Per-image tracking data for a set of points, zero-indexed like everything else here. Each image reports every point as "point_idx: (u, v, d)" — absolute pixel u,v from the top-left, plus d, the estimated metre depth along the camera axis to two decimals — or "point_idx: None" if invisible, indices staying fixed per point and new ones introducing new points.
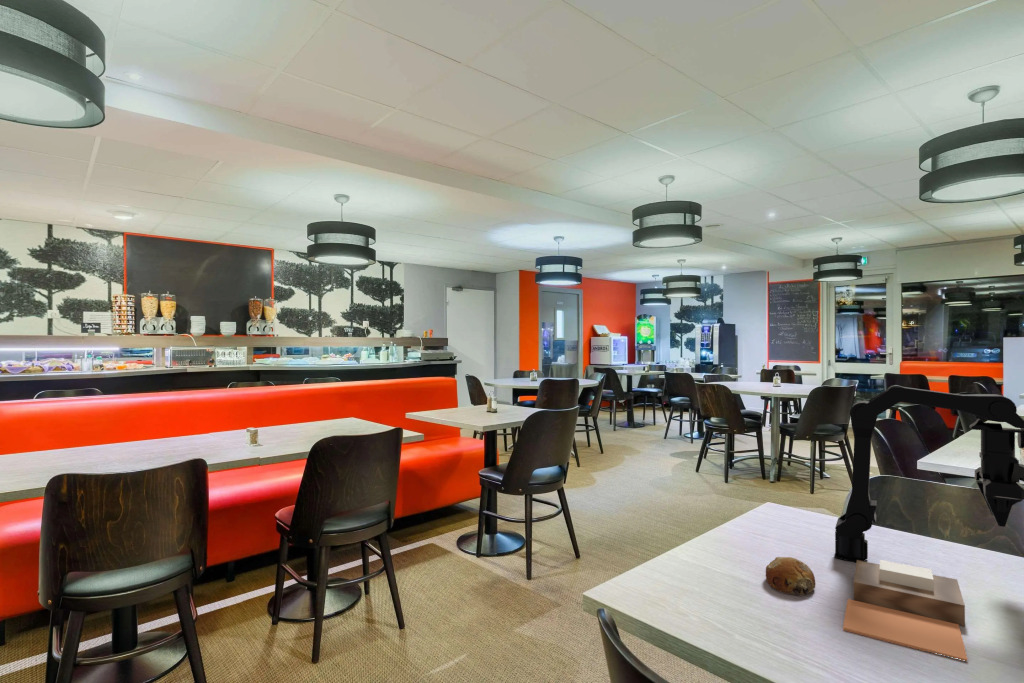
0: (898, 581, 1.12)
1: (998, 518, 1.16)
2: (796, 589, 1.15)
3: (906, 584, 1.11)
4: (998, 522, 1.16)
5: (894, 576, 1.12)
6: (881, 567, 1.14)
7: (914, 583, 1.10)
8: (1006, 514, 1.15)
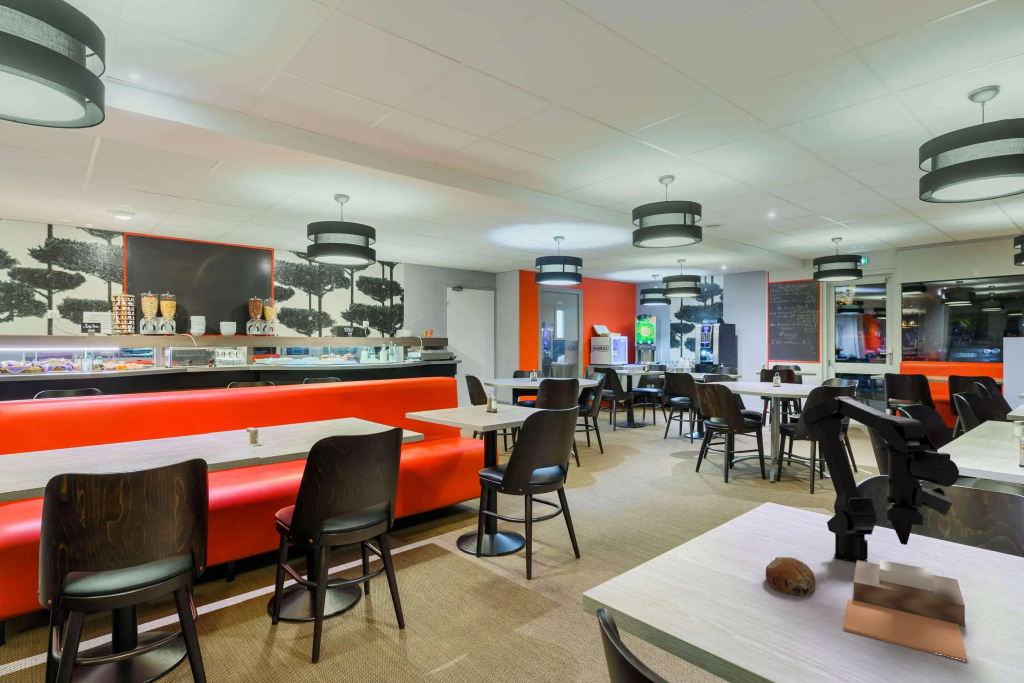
0: (898, 581, 1.12)
1: (900, 536, 1.21)
2: (796, 589, 1.15)
3: (906, 584, 1.11)
4: (900, 540, 1.21)
5: (894, 576, 1.12)
6: (881, 567, 1.14)
7: (914, 583, 1.10)
8: (907, 532, 1.20)
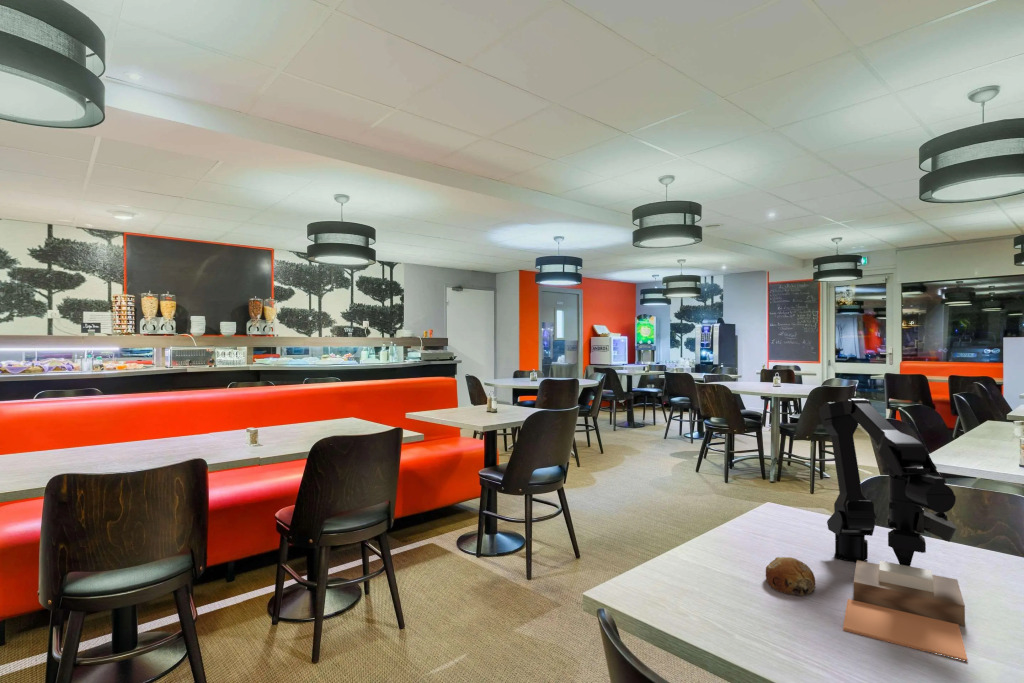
0: (898, 582, 1.11)
1: (902, 563, 1.16)
2: (796, 589, 1.15)
3: (906, 585, 1.11)
4: None
5: (894, 577, 1.12)
6: (881, 568, 1.14)
7: (914, 584, 1.10)
8: (909, 559, 1.15)
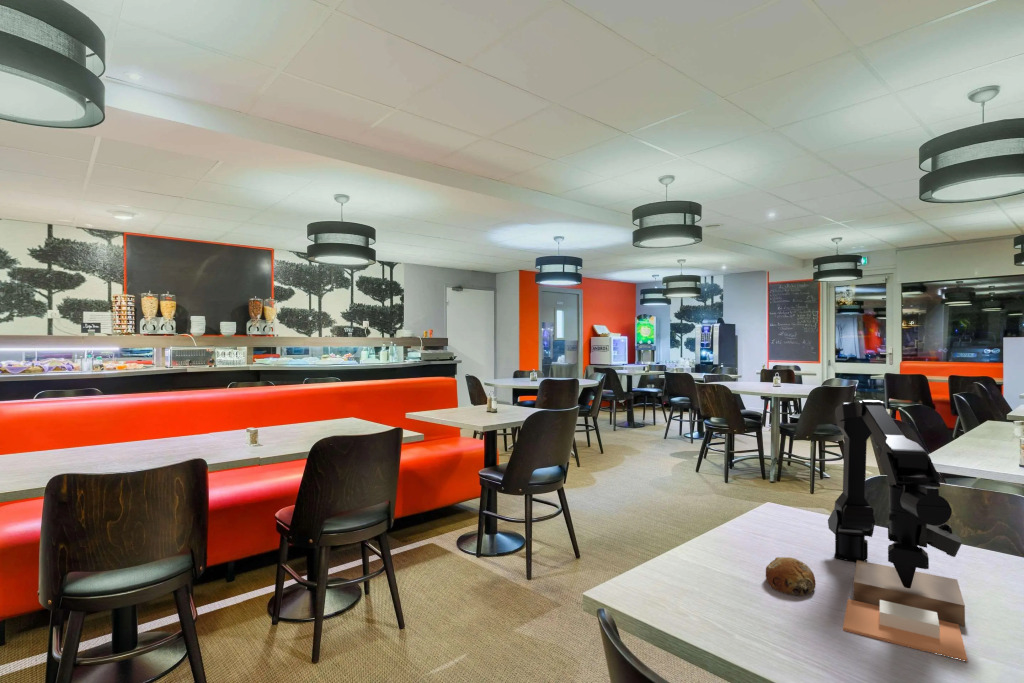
0: None
1: (903, 579, 1.08)
2: (796, 589, 1.15)
3: None
4: (903, 583, 1.08)
5: None
6: None
7: None
8: (911, 575, 1.07)
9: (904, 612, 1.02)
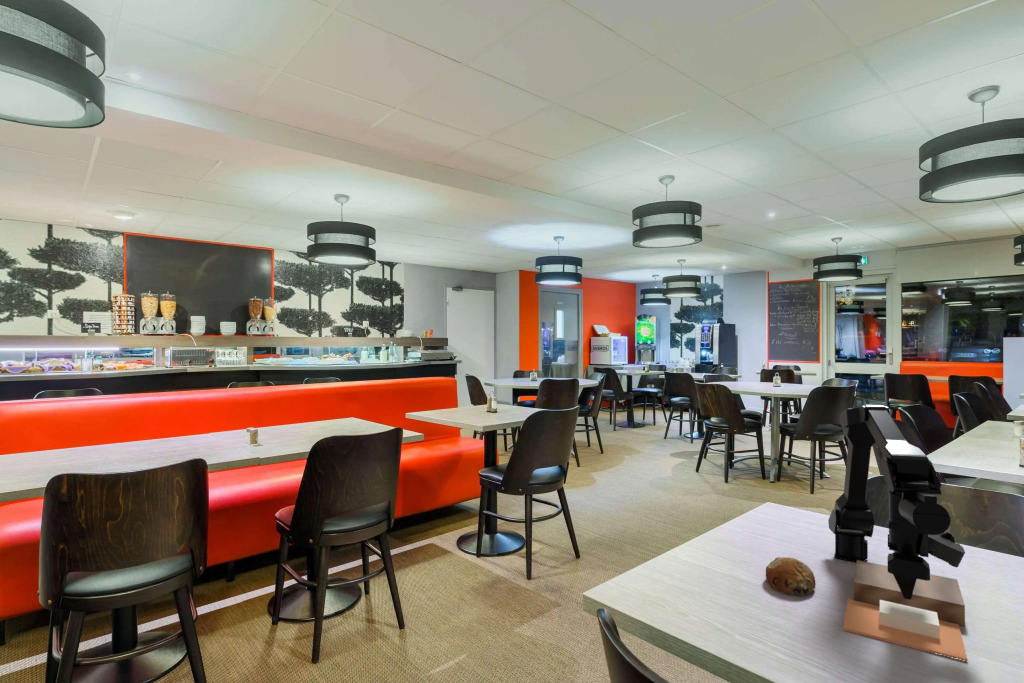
0: None
1: (903, 590, 1.03)
2: (796, 589, 1.15)
3: None
4: (903, 594, 1.03)
5: None
6: None
7: None
8: (911, 585, 1.02)
9: (904, 612, 1.02)
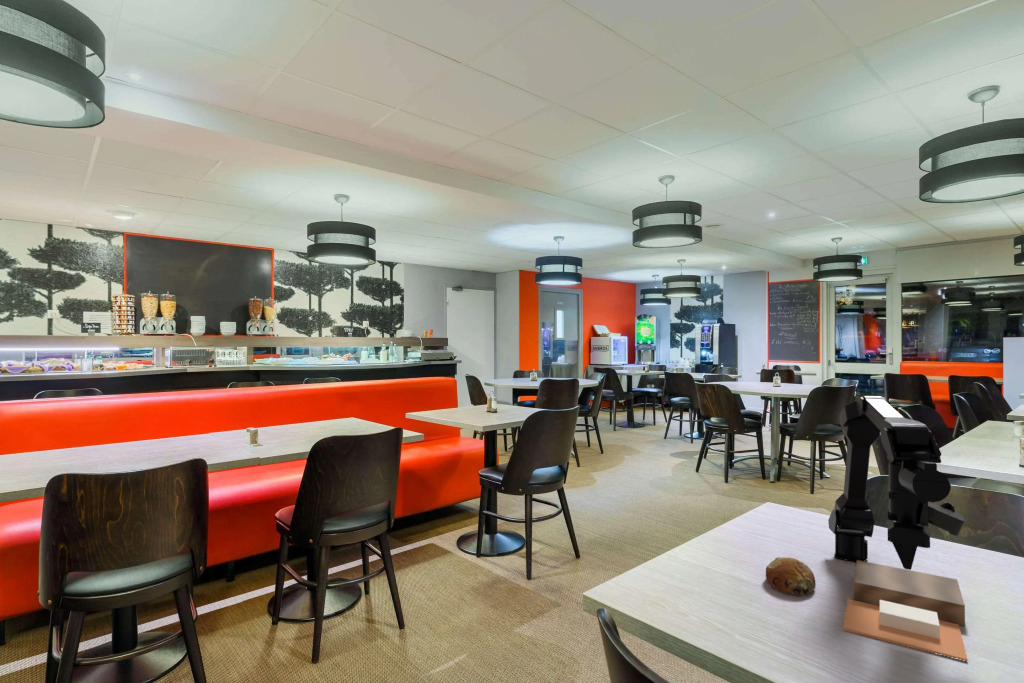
0: None
1: (903, 560, 1.03)
2: (796, 589, 1.15)
3: None
4: (904, 564, 1.03)
5: None
6: None
7: None
8: (912, 555, 1.02)
9: (904, 612, 1.02)
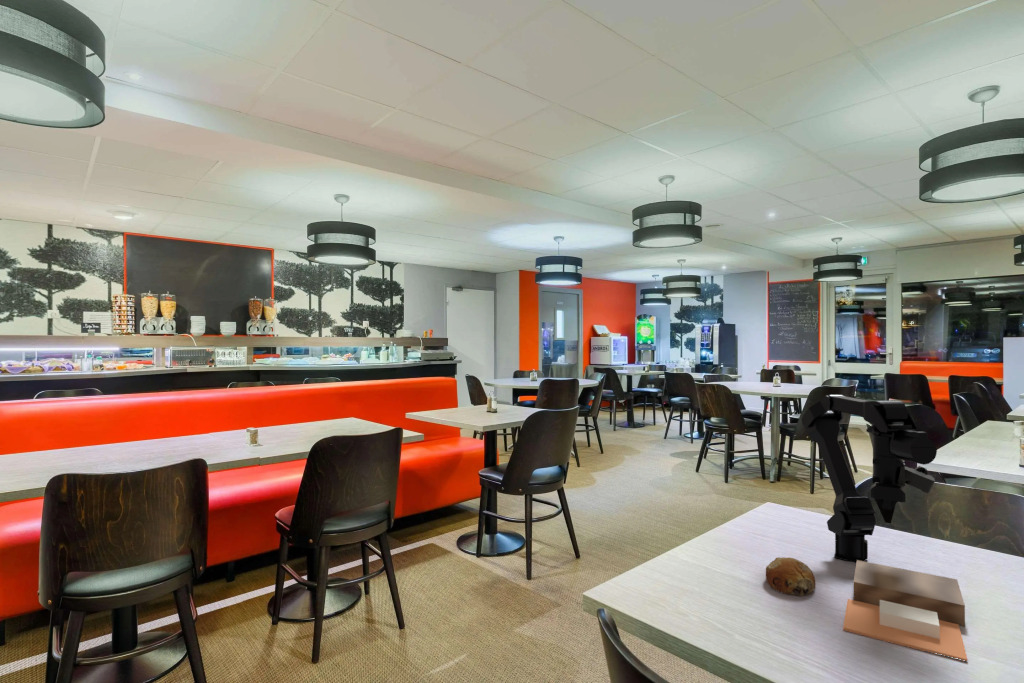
0: None
1: (885, 515, 1.23)
2: (796, 590, 1.15)
3: None
4: (885, 519, 1.23)
5: None
6: None
7: None
8: (891, 511, 1.22)
9: (904, 612, 1.02)
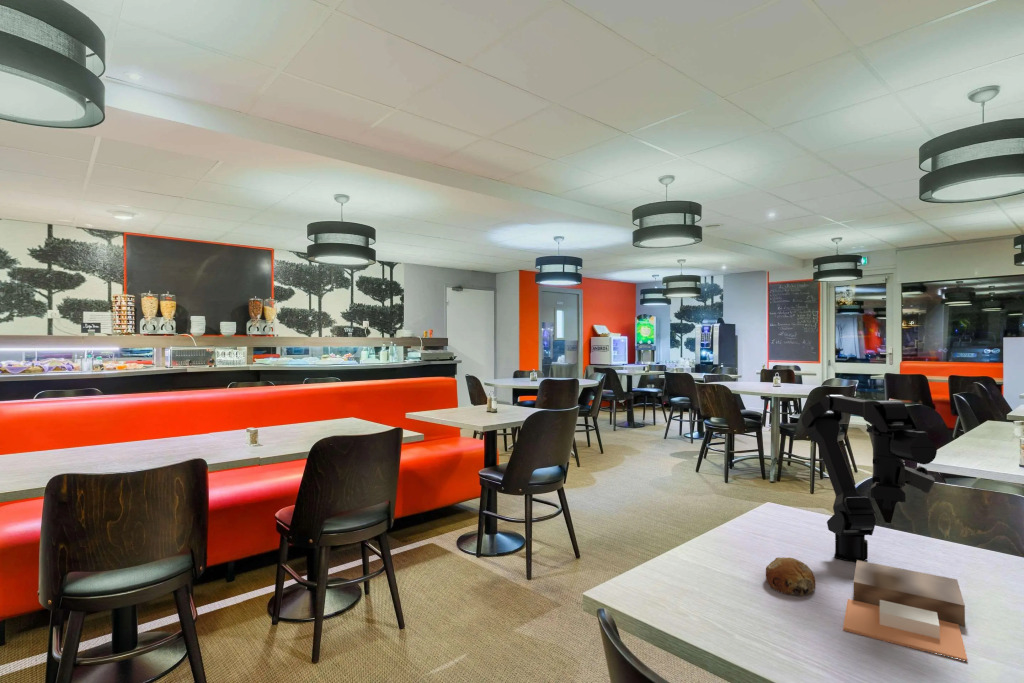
0: None
1: (885, 515, 1.23)
2: (796, 590, 1.15)
3: None
4: (885, 519, 1.23)
5: None
6: None
7: None
8: (891, 511, 1.22)
9: (904, 612, 1.02)
